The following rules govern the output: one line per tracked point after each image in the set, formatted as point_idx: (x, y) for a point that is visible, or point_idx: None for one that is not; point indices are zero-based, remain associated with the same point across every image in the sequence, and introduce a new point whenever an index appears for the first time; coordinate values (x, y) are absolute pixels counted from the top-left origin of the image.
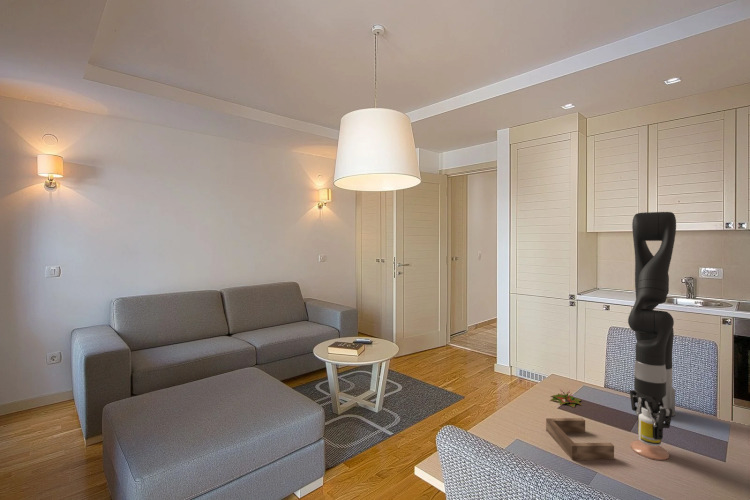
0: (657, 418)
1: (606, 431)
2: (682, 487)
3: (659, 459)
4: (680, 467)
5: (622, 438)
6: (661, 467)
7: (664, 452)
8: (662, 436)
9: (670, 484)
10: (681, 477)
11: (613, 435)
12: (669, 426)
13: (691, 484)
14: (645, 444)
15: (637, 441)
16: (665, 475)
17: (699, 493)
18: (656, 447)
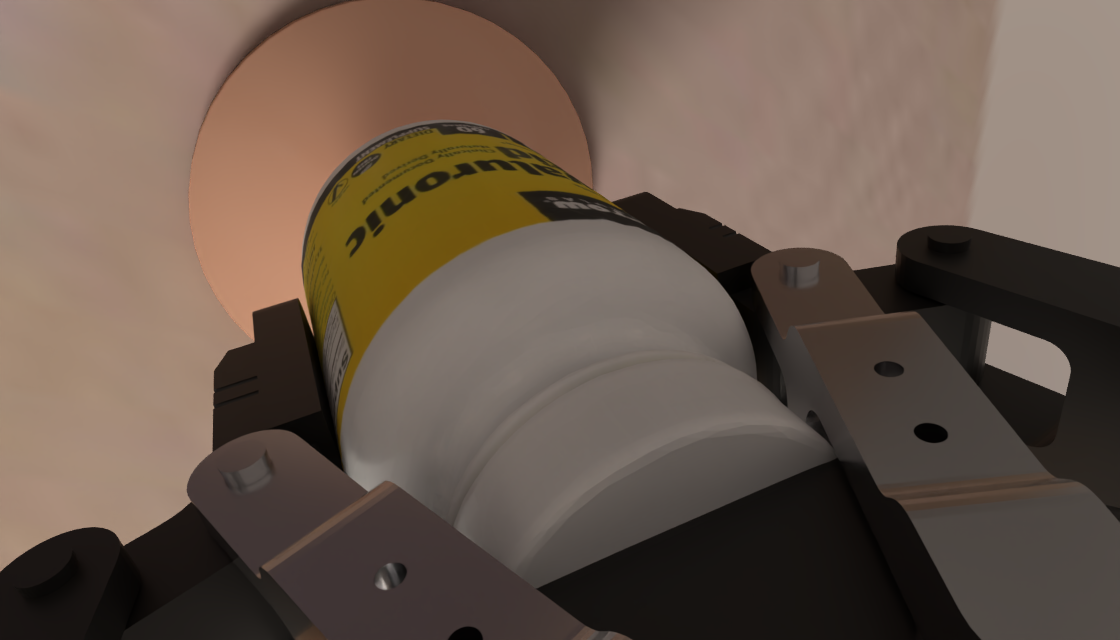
0: (699, 350)
1: (4, 565)
2: (924, 165)
3: (586, 176)
4: (685, 10)
5: (151, 421)
6: (697, 209)
7: (452, 56)
8: (712, 221)
9: (890, 237)
10: (825, 100)
11: (103, 503)
12: (992, 238)
13: (904, 68)
14: (292, 219)
15: (239, 294)
16: (798, 226)
17: (989, 72)
18: (341, 105)
